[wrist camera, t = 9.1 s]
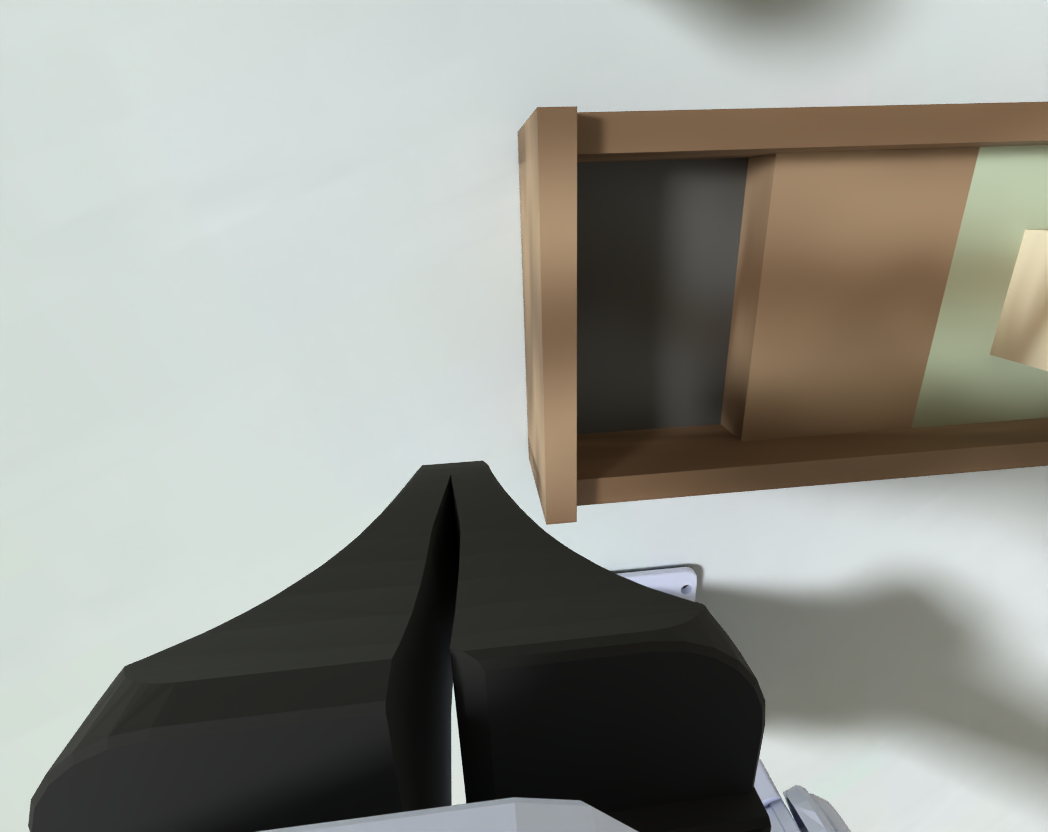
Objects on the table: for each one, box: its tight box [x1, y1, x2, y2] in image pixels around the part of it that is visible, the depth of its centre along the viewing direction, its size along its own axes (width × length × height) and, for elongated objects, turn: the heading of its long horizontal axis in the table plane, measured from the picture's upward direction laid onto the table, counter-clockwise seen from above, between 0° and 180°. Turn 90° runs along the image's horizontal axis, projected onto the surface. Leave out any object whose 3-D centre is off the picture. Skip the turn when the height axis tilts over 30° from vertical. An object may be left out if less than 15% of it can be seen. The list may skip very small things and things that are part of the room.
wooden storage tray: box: [518, 102, 1048, 525], centre depth 19 cm, size 12×23×5 cm, turn 92°
